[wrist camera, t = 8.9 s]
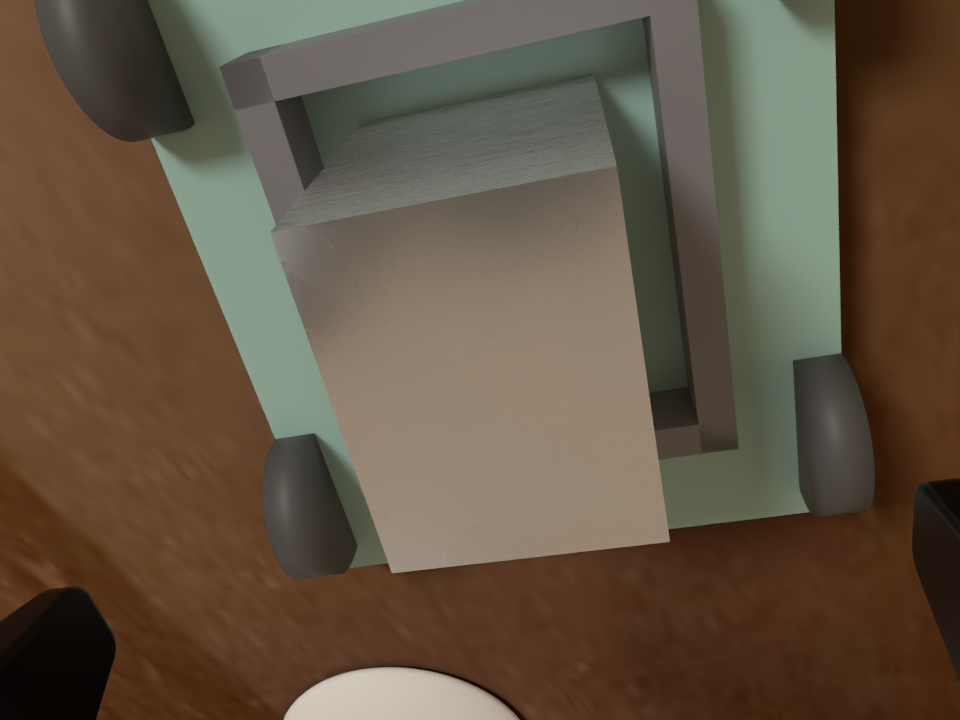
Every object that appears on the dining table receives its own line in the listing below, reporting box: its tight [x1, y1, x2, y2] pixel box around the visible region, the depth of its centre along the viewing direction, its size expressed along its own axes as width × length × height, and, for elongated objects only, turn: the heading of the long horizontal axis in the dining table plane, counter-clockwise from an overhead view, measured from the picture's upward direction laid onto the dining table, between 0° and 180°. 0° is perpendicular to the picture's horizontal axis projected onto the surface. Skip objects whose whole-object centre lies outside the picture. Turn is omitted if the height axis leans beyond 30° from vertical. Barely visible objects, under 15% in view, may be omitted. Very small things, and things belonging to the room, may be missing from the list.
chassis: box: [34, 0, 875, 579], centre depth 17 cm, size 16×13×4 cm
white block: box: [270, 74, 670, 573], centre depth 14 cm, size 6×4×6 cm
